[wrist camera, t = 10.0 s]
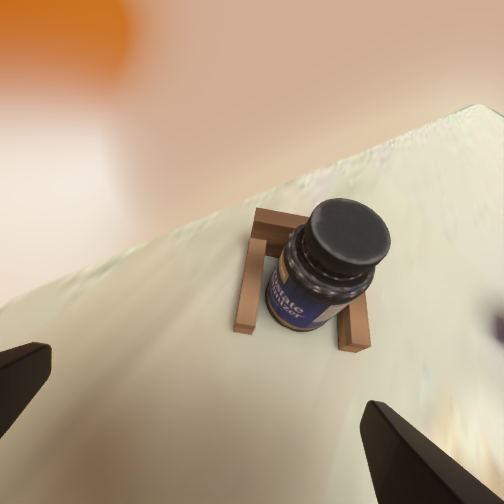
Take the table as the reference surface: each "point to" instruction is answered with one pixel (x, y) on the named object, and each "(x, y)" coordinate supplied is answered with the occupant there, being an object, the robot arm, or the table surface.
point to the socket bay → (271, 244)
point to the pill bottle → (326, 263)
